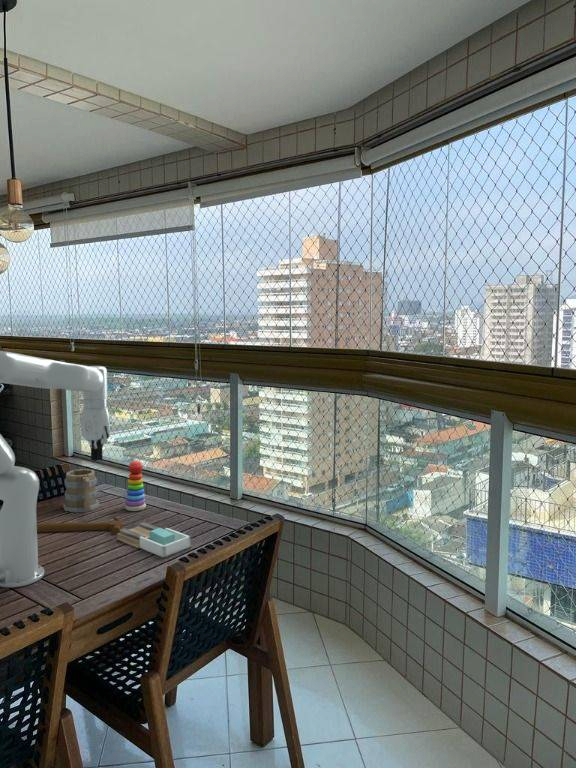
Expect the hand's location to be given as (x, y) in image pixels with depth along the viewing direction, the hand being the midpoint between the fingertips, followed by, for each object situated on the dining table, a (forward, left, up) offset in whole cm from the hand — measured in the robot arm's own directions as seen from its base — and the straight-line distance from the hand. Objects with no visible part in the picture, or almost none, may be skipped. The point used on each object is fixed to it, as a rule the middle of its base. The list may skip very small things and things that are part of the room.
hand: (96, 459), depth 180 cm
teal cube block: (+10, -18, -27) cm, 34 cm away
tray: (+10, -22, -27) cm, 36 cm away
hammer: (+1, +14, -28) cm, 31 cm away
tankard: (+13, +31, -27) cm, 43 cm away
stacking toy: (+27, +17, -27) cm, 42 cm away
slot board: (+10, -10, -27) cm, 31 cm away
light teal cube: (+10, -22, -27) cm, 36 cm away
